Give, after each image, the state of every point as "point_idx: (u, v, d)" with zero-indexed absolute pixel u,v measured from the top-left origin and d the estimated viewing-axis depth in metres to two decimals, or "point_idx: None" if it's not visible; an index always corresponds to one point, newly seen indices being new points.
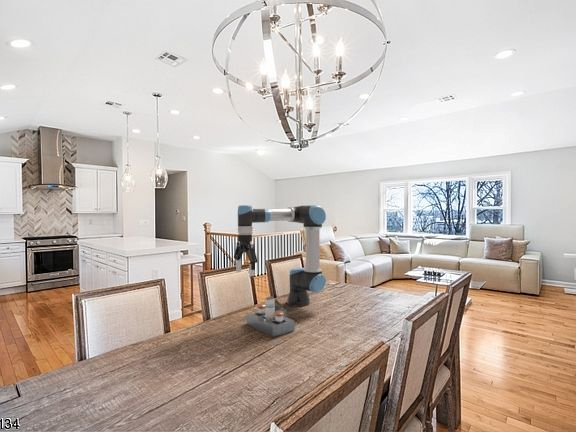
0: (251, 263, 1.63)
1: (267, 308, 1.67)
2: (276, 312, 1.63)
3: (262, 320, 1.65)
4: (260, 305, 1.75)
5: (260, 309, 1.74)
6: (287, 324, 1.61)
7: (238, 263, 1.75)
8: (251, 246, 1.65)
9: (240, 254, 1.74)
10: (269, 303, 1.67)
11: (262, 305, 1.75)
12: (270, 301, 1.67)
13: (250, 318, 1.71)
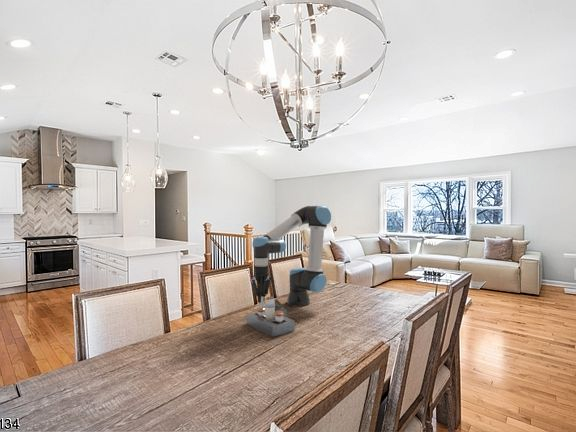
0: None
1: (267, 308, 1.67)
2: (276, 312, 1.63)
3: (262, 320, 1.65)
4: None
5: (260, 312, 1.74)
6: (287, 324, 1.61)
7: None
8: (251, 281, 1.72)
9: (262, 287, 1.76)
10: (269, 303, 1.67)
11: None
12: (270, 301, 1.67)
13: (250, 318, 1.71)
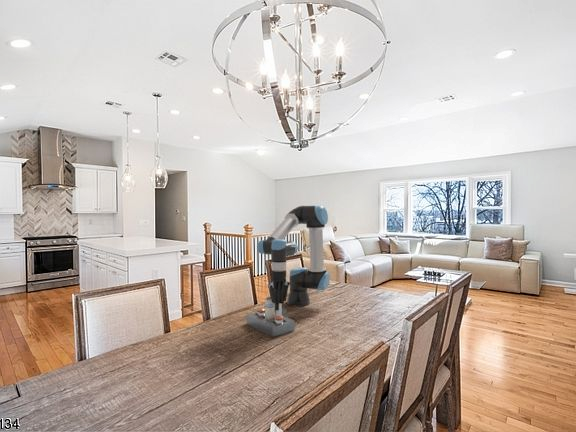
0: (275, 303, 1.63)
1: (267, 308, 1.67)
2: (276, 316, 1.63)
3: (262, 320, 1.65)
4: (260, 309, 1.75)
5: (260, 313, 1.74)
6: (287, 324, 1.61)
7: None
8: (269, 287, 1.59)
9: (279, 293, 1.63)
10: (269, 303, 1.67)
11: (262, 309, 1.75)
12: (270, 301, 1.67)
13: (250, 318, 1.71)
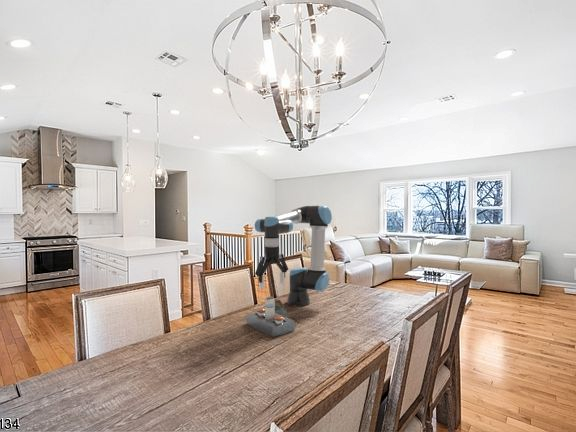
0: (258, 275, 1.63)
1: (267, 308, 1.67)
2: (276, 316, 1.63)
3: (262, 320, 1.65)
4: (260, 309, 1.75)
5: (260, 313, 1.74)
6: (287, 324, 1.61)
7: (281, 275, 1.72)
8: (261, 258, 1.63)
9: (279, 266, 1.71)
10: (269, 303, 1.67)
11: (262, 309, 1.75)
12: (270, 301, 1.67)
13: (250, 318, 1.71)
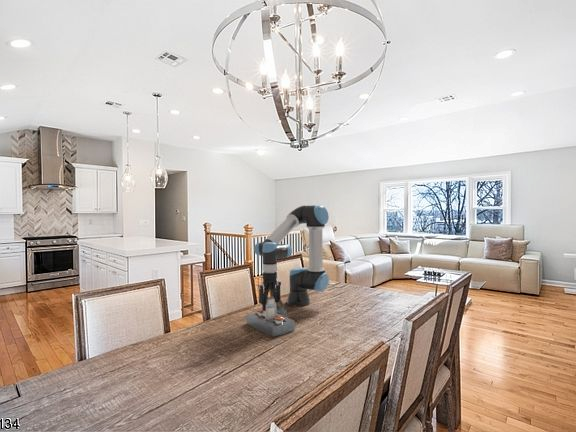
0: (262, 303, 1.68)
1: None
2: (276, 316, 1.63)
3: (262, 320, 1.65)
4: (260, 309, 1.75)
5: (260, 313, 1.74)
6: (287, 324, 1.61)
7: None
8: (259, 287, 1.65)
9: (273, 294, 1.71)
10: (269, 303, 1.67)
11: None
12: (270, 301, 1.67)
13: (250, 318, 1.71)
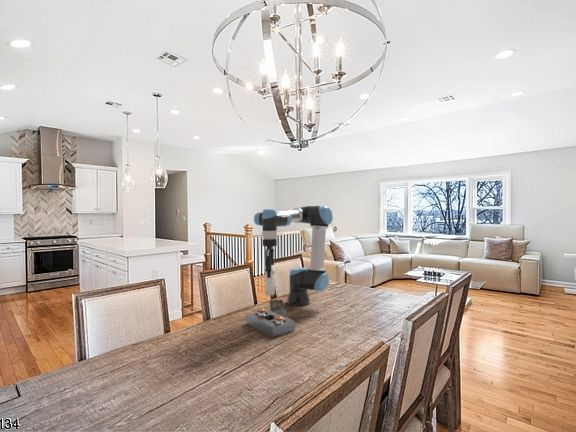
0: (266, 271, 1.65)
1: None
2: (276, 316, 1.63)
3: (262, 320, 1.65)
4: (260, 309, 1.75)
5: (260, 313, 1.74)
6: (287, 324, 1.61)
7: None
8: (267, 254, 1.62)
9: None
10: (272, 269, 1.67)
11: (262, 309, 1.75)
12: (273, 267, 1.67)
13: (250, 318, 1.71)
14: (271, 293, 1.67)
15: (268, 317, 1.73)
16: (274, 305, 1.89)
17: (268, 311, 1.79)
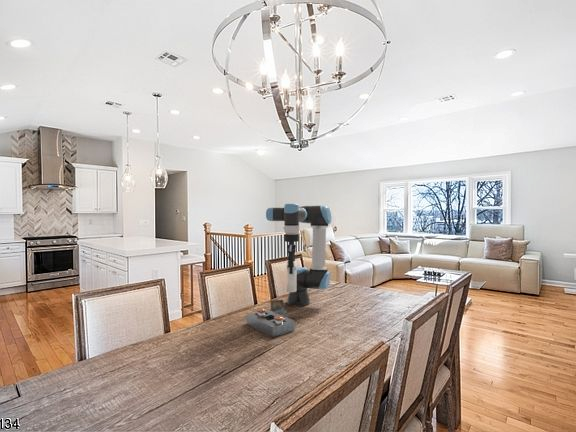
0: (288, 267, 1.60)
1: None
2: (276, 316, 1.63)
3: (262, 320, 1.65)
4: (260, 309, 1.75)
5: (260, 313, 1.74)
6: (287, 324, 1.61)
7: None
8: (289, 250, 1.57)
9: None
10: (295, 265, 1.62)
11: (262, 309, 1.75)
12: (295, 263, 1.63)
13: (250, 318, 1.71)
14: (293, 290, 1.62)
15: (268, 317, 1.73)
16: (274, 305, 1.89)
17: (268, 311, 1.79)
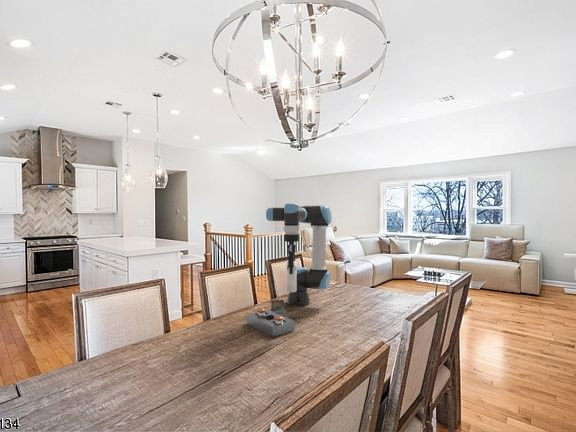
0: (288, 267, 1.60)
1: None
2: (276, 316, 1.63)
3: (262, 320, 1.65)
4: (260, 309, 1.75)
5: (260, 313, 1.74)
6: (287, 324, 1.61)
7: None
8: (289, 250, 1.57)
9: None
10: (295, 265, 1.62)
11: (262, 309, 1.75)
12: (295, 263, 1.63)
13: (250, 318, 1.71)
14: (293, 290, 1.62)
15: (268, 317, 1.73)
16: (274, 305, 1.89)
17: (268, 311, 1.79)
